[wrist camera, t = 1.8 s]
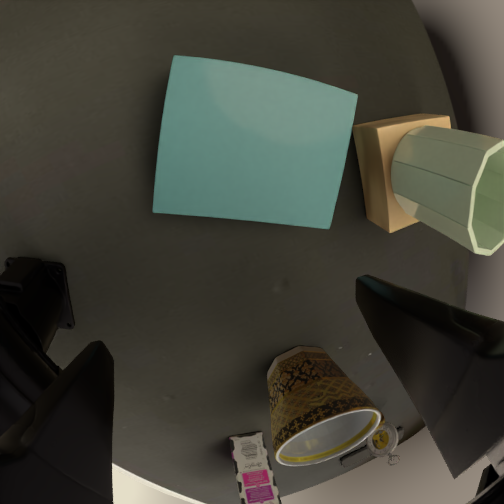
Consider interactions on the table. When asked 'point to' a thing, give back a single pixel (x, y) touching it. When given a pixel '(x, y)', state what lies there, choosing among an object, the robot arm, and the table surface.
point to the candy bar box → (253, 470)
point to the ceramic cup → (316, 408)
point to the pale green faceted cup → (453, 184)
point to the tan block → (386, 165)
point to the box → (251, 144)
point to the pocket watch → (383, 442)
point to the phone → (363, 453)
